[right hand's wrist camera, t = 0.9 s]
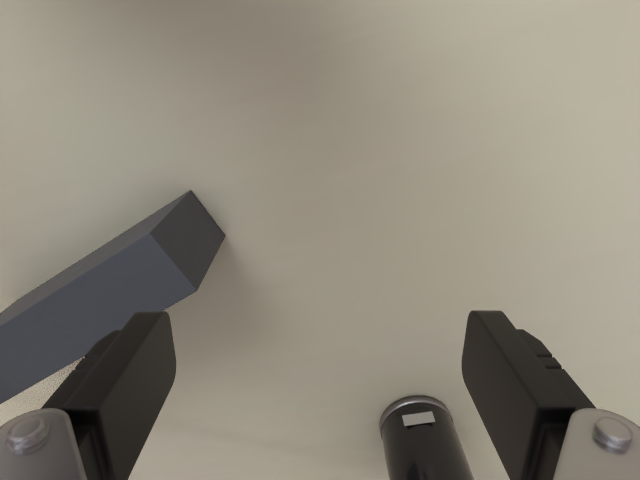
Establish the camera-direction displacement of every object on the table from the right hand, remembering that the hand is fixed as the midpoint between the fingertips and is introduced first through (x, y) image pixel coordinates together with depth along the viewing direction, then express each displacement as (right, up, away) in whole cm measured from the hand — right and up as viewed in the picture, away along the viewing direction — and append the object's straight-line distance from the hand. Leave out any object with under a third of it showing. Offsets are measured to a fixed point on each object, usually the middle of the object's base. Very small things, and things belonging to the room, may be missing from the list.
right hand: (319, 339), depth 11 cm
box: (-22, -1, +36) cm, 42 cm away
